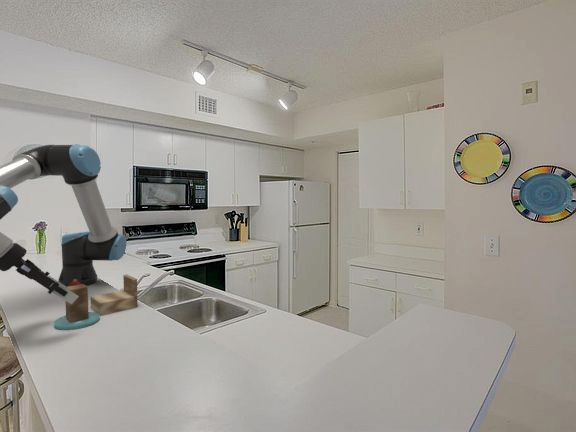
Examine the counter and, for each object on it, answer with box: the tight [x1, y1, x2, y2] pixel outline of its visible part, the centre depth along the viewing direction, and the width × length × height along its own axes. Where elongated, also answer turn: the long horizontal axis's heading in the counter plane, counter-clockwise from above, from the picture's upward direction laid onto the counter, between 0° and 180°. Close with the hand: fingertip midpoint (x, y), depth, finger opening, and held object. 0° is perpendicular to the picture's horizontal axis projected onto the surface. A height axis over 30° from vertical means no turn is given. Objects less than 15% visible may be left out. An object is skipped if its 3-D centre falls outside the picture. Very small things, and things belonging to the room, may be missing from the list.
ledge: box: [90, 274, 139, 316], centre depth 117 cm, size 12×11×10 cm
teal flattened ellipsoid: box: [53, 311, 101, 331], centre depth 103 cm, size 12×12×1 cm
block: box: [65, 284, 90, 323], centre depth 103 cm, size 5×5×10 cm
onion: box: [68, 279, 81, 286], centre depth 126 cm, size 6×6×8 cm
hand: (69, 295), depth 101 cm, fingers open, 13 cm apart
